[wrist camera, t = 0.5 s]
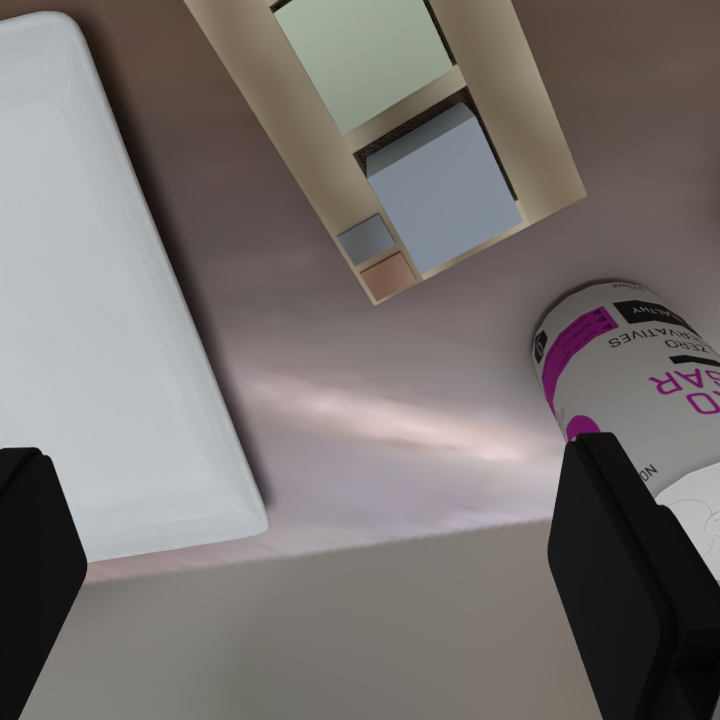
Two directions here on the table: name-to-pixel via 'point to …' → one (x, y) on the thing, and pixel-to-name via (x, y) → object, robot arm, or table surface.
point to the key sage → (364, 52)
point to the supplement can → (640, 396)
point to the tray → (102, 320)
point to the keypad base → (338, 153)
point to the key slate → (442, 188)
